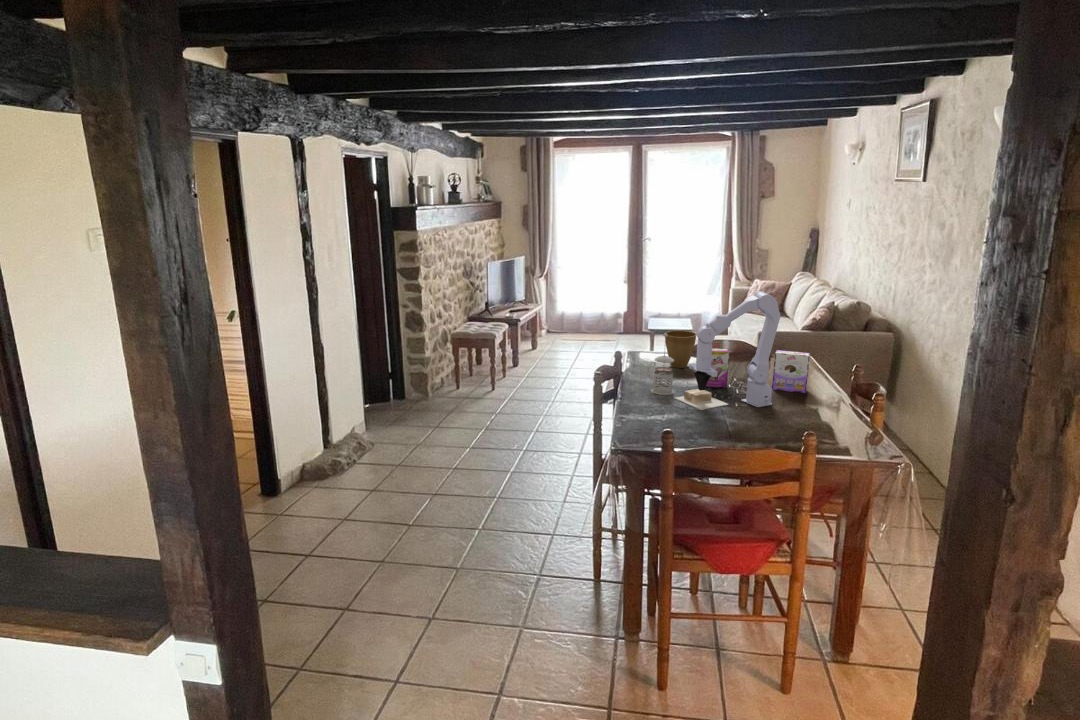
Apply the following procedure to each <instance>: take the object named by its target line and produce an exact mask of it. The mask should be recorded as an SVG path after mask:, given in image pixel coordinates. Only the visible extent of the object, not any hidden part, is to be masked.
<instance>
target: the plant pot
mask: <svg viewBox="0 0 1080 720" xmlns="http://www.w3.org/2000/svg"><path fill="white" fill-rule="evenodd" d="M664 333H667V334H668V336H666V343H665V349H666V351H667V356H668V357H671V358H672V359H674V362H672V363H670V365H671V367H672V368H677V369H678V368H679V369H681V368H683V369H684V368H687V367H688V366H689V364H690V363H689V362H690V360H691V357H692V355H693V351H694V348H695V344H696V340H697V335H696V333H697V332H695V331H694V332H693V331H690V330H689V331H688V330H668V331H666V332H664Z"/></svg>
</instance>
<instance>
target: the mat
mask: <svg viewBox="0 0 1080 720" xmlns="http://www.w3.org/2000/svg"><path fill="white" fill-rule="evenodd" d="M674 399H675V400H677V401H679V402H681V403H684V404H686V405H688V406H690V407H693V408H695V409H697V410H700V411H703V410H708V409H713V408H714V409H715V408H719V407H725V406H729V403H727V402H725V401H722V400H719V399H717V398H715V397H712V396H711V400H709V401H703V402H697V403H695V402H692V401H690V400H688V399H685V398H684V395H682V396H677V397H674Z"/></svg>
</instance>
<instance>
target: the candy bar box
mask: <svg viewBox="0 0 1080 720" xmlns="http://www.w3.org/2000/svg"><path fill="white" fill-rule="evenodd" d="M730 355H731V351H730V349H727V348H712V355H711V368H712V369H713V370H715V371H717V377H712V376H711V377H710V378H709V380H708V382H707V384H706V387H705V388H714V387H726V388H727V386H728V374H729V364H730Z"/></svg>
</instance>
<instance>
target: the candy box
mask: <svg viewBox="0 0 1080 720" xmlns="http://www.w3.org/2000/svg"><path fill="white" fill-rule="evenodd" d="M773 361H774V362H773V363H774V364H773V374H772V383H771V384H772V386H771V388H772V391H773V390H774V391H783V392H791V393H800V394H801V393H802V394H806V393H807V390H808V389H807V388H808V381H809V372H810V361H811V353H810V352H801V351H789V350H782V349H781V350H779V349H778V350H777V349H776V351H775V352H774V360H773Z"/></svg>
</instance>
